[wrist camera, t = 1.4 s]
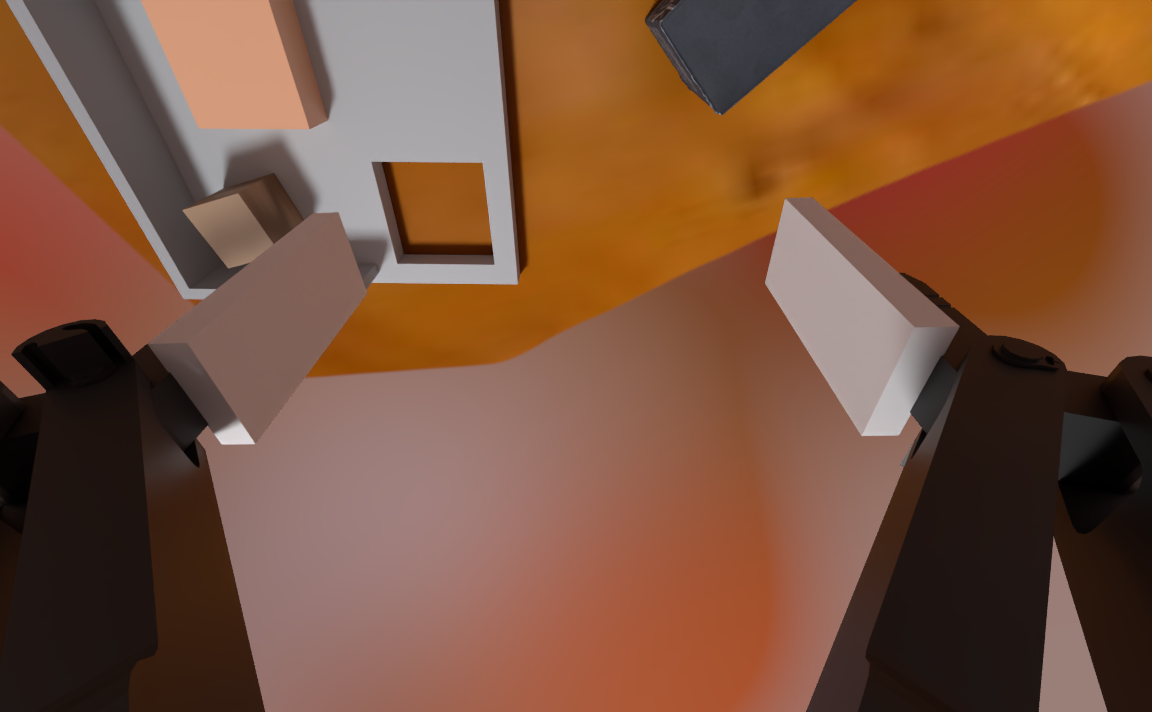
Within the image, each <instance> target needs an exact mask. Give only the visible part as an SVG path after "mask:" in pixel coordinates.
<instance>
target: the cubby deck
mask: <svg viewBox="0 0 1152 712" xmlns="http://www.w3.org/2000/svg"><path fill="white" fill-rule="evenodd" d="M6 2H7V3H8V5H9V7H10V8H11V10H12V12H13V13H14V15H15V17H16V18H17V20H18V22H19V23H20V25H21V27H22V28H23V30H24V32H25V33H26V35H27V37H28V39H29V40H30V42H31V44H32V45H33V47H34V49H35V50H36V52H37V54H38V55H39V57H40V59H41V60H42V62H43V64H44V65H45V67H46V69H47V70H48V72H49V74H50V75H51V77H52V79H53V81H54V82H55V84H56V86H57V87H58V89H59V91H60V92H61V94H62V96H63V97H64V99H65V101H66V102H67V104H68V106H69V107H70V109H71V111H72V112H73V114H74V116H75V117H76V119H77V121H78V123H79V124H80V126H81V128H82V129H83V131H84V133H85V134H86V136H87V138H88V139H89V141H90V143H91V144H92V146H93V148H94V149H95V151H96V153H97V154H98V156H99V158H100V159H101V161H102V163H103V165H104V166H105V168H106V170H107V171H108V173H109V175H110V176H111V178H112V180H113V181H114V183H115V185H116V186H117V188H118V190H119V191H120V193H121V195H122V196H123V198H124V200H125V201H126V203H127V205H128V207H129V208H130V210H131V212H132V213H133V215H134V217H135V218H136V220H137V222H138V223H139V225H140V227H141V228H142V230H143V232H144V233H145V235H146V237H147V238H148V240H149V242H150V243H151V245H152V247H153V249H154V250H155V252H156V254H157V255H158V257H159V259H160V260H161V262H162V264H163V265H164V267H165V269H166V270H167V272H168V274H169V275H170V277H171V279H172V280H173V282H174V284H175V285H176V287H177V289H178V291H179V292H180V294H181V296H182V297H183V299H205V298H206V297H207V296H209V295H210V294H211V293H213V292H214V291H215V290H216V289H218V288H219V287H220V286H221V285H223V284H224V283H225V282H226V281H228V280H229V279H230V278H232V277H233V276H234V275H235V274H237V273H238V272H239V271H240V270H242V269H243V268H244V267H246V266H247V265H248V264H249V263H247V264H243V265H240V266H236V267H232V268H228V267H227V266H226V265H225V264H224V262H223V261H222V260H221V259H220V257H219V256H218V255H217V254H216V252H215V251H214V250H213V248H212V247H211V246H210V245H209V243H208V242H207V241H206V240H205V238H204V237H203V236H202V235H201V233H200V232H199V231H198V230H197V228H196V227H195V226H194V225H193V223H192V222H191V221H190V220H189V218H188V217H187V216H186V214H185V213H184V212H183V211H182V210H183V209H185V208H187V207H189V206H191V205H193V204H195V203H197V202H198V201H200V200H202V199H204V198H206V197H208V196H210V195H212V194H214V193H216V192H217V191H219V190H221V189H223V188H226V187H230V186H233V185H236V184H239V183H243V182H246V181H249V180H253V179H256V178H259V177H263V176H266V175H269V174H272V173H275V175H276V176H277V178H278V180H279V181H280V183H281V184H282V186H283V187H284V189H285V190H286V192H287V194H288V195H289V197H290V198H291V200H292V201H293V203H294V205H295V206H296V208H297V209H298V211H299V212H300V214H301V215H302V217H303V219H304V220H305V219H307V218H308V217H309V216H310V215H312V214H313V213H332V212H339V215H340V218H341V221H342V223H343V226H344V229H345V232H346V235H347V238H348V240H349V243H350V246H351V249H352V252H353V254H354V257H355V260H356V263H357V266H358V269H359V271H360V274H361V277H362V280H363V283H364V285H365V288H366V289H367V288H368V287H369V285H370V284H371V283H449V284H518V282H519V277H520V265H519V252H518V240H517V227H516V214H515V202H514V189H513V177H512V164H511V151H510V139H509V126H508V114H507V101H506V88H505V76H504V63H503V50H502V38H501V25H500V13H499V0H293V3H294V6H295V10H296V13H297V16H298V20H299V23H300V26H301V30H302V33H303V37H304V40H305V43H306V47H307V50H308V54H309V57H310V60H311V64H312V67H313V71H314V74H315V77H316V81H317V84H318V88H319V91H320V94H321V98H322V101H323V105H324V108H325V111H326V115H327V118H328V121H326V122H324V123H322V124H320V125H318V126H316V127H313V128H311V129H199V128H198V125H197V123H196V121H195V119H194V117H193V114H192V112H191V110H190V108H189V106H188V103H187V101H186V99H185V97H184V95H183V92H182V90H181V88H180V86H179V84H178V81H177V79H176V77H175V75H174V73H173V70H172V68H171V66H170V64H169V62H168V59H167V57H166V55H165V53H164V51H163V48H162V46H161V44H160V42H159V40H158V37H157V35H156V33H155V31H154V29H153V26H152V24H151V22H150V20H149V18H148V15H147V13H146V11H145V9H144V7H143V4H142V2H141V0H6ZM382 162H477V163H483V169H484V178H485V186H486V195H487V204H488V212H489V221H490V230H491V238H492V247H493V255H428V254H404V252H403V248H402V244H401V240H400V236H399V232H398V227H397V223H396V219H395V215H394V211H393V207H392V203H391V199H390V195H389V190H388V186H387V182H386V178H385V174H384V170H383V166H382Z"/></svg>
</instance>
